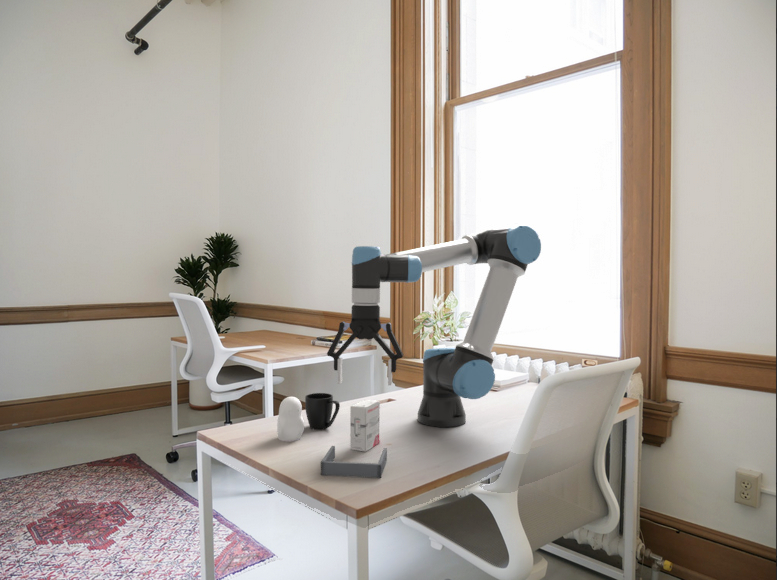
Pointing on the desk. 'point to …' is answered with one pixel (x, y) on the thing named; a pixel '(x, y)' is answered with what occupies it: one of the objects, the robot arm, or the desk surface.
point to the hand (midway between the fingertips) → (364, 383)
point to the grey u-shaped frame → (352, 466)
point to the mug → (320, 410)
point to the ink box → (364, 425)
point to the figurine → (290, 420)
